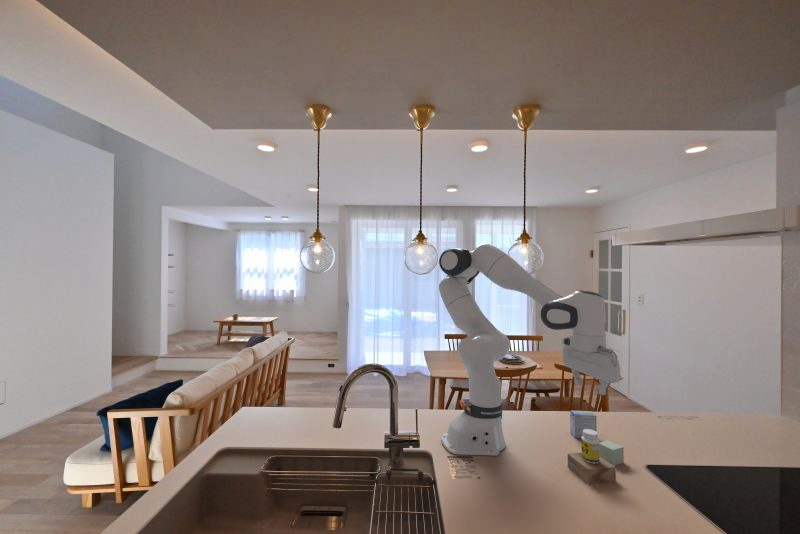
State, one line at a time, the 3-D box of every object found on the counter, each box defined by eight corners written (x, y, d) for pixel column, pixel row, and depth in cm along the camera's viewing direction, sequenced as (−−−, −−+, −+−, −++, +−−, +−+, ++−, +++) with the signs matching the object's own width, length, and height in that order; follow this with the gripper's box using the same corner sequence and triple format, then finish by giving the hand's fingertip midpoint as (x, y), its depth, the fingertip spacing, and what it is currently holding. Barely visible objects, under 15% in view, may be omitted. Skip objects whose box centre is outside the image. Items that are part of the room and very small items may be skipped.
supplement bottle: (578, 455, 105) (578, 428, 105) (593, 455, 105) (592, 428, 105) (587, 464, 100) (587, 435, 100) (603, 464, 100) (602, 435, 100)
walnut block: (588, 483, 97) (587, 469, 97) (567, 466, 106) (567, 453, 106) (615, 481, 98) (615, 467, 99) (593, 464, 107) (593, 451, 107)
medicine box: (591, 434, 129) (591, 411, 129) (597, 439, 125) (596, 415, 125) (569, 432, 130) (569, 410, 130) (574, 438, 125) (574, 414, 126)
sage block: (613, 466, 107) (613, 450, 107) (598, 458, 111) (598, 443, 111) (623, 462, 109) (623, 447, 109) (608, 455, 113) (608, 440, 113)
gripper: (626, 350, 94) (626, 400, 94) (575, 337, 115) (575, 379, 114) (606, 350, 93) (607, 401, 93) (558, 338, 113) (559, 379, 113)
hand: (589, 389), depth 104 cm, fingers open, 8 cm apart
